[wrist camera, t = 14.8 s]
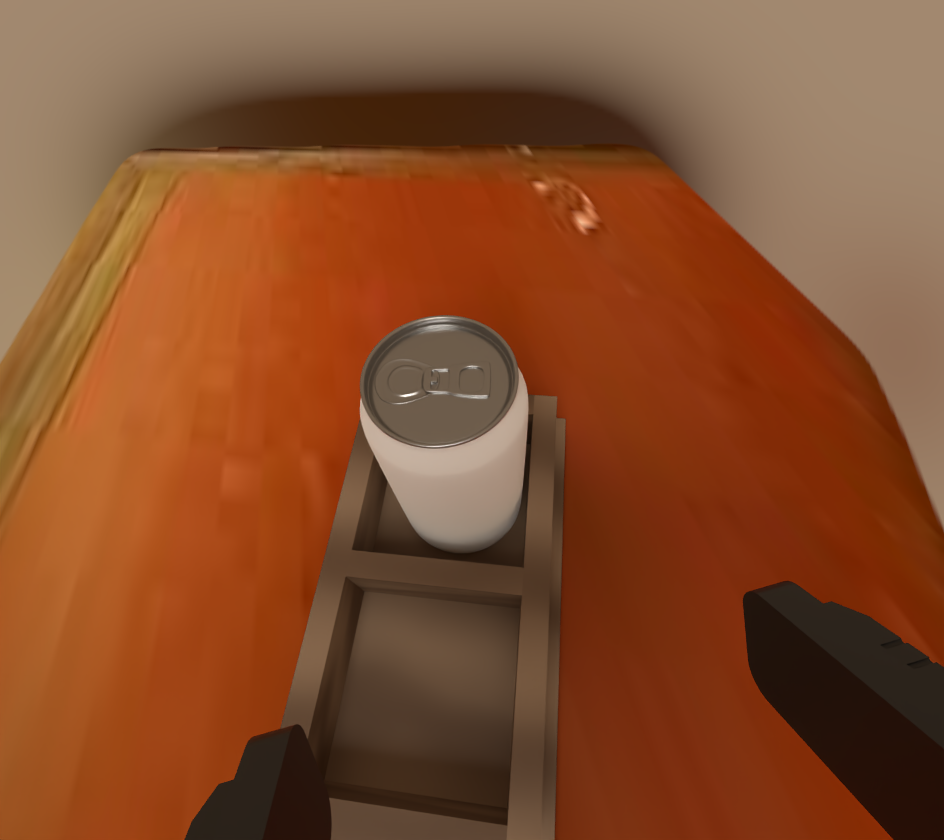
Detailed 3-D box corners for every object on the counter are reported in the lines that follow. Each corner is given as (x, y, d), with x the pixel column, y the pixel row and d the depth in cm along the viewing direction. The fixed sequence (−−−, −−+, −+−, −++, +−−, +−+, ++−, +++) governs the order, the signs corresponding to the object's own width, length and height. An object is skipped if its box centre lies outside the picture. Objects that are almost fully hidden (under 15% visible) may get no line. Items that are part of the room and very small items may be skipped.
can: (411, 446, 30) (360, 307, 19) (520, 446, 29) (528, 304, 19) (400, 555, 27) (333, 459, 16) (523, 556, 26) (534, 459, 16)
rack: (550, 865, 21) (562, 905, 17) (281, 820, 22) (227, 848, 18) (563, 430, 31) (572, 386, 27) (377, 417, 33) (358, 373, 28)
